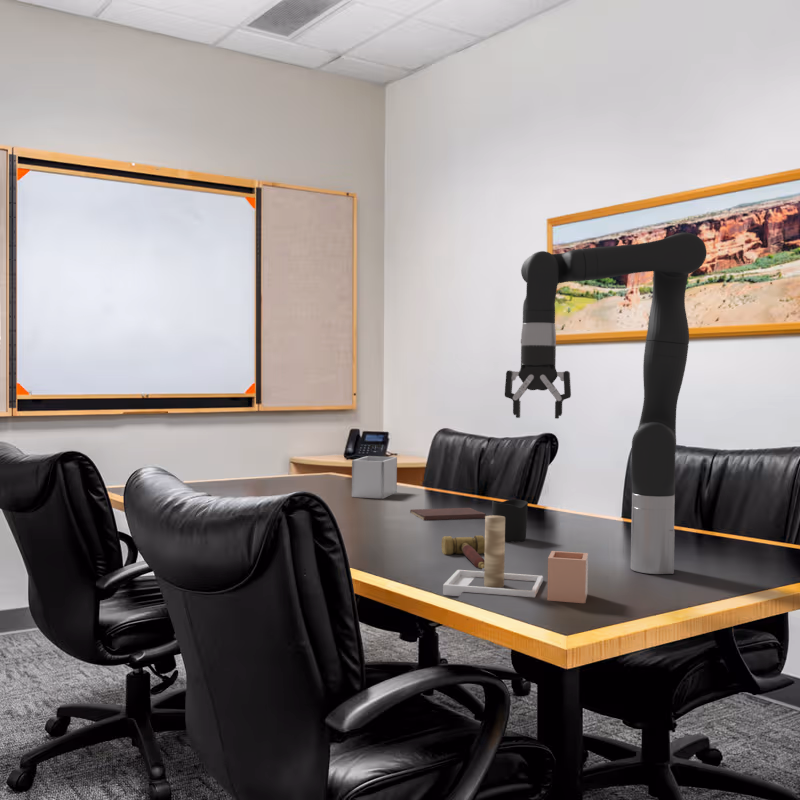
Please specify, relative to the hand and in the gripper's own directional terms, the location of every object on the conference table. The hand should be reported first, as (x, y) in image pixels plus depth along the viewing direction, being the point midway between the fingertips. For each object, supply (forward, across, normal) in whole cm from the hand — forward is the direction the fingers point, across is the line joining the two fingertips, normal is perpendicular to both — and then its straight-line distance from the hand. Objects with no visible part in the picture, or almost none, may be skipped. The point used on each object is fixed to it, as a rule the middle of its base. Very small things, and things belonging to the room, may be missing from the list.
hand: (537, 418), depth 190 cm
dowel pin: (+33, +6, +19) cm, 39 cm away
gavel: (+35, +16, -8) cm, 39 cm away
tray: (+34, +6, +19) cm, 39 cm away
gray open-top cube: (+34, +70, -107) cm, 132 cm away
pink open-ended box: (+34, -9, +24) cm, 43 cm away
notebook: (+35, +35, -70) cm, 86 cm away
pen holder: (+34, +11, -37) cm, 52 cm away
